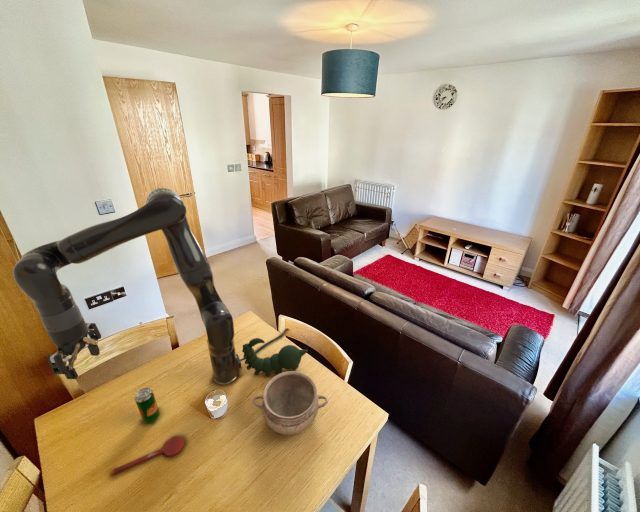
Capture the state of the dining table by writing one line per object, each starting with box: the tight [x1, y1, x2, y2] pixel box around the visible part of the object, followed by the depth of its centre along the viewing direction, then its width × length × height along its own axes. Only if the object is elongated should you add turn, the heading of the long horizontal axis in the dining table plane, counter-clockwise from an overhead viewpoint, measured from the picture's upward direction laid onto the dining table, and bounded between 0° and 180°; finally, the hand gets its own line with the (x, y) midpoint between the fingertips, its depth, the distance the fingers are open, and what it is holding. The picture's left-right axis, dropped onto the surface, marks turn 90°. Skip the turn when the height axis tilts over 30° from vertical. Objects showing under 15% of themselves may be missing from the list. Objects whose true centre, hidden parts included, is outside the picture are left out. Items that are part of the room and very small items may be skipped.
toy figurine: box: [241, 337, 309, 378], centre depth 108 cm, size 9×19×25 cm
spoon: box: [111, 435, 185, 476], centre depth 81 cm, size 18×6×1 cm, turn 119°
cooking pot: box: [252, 370, 329, 436], centre depth 92 cm, size 25×19×12 cm
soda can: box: [134, 387, 161, 424], centre depth 90 cm, size 5×5×12 cm
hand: (85, 365), depth 79 cm, fingers open, 8 cm apart
